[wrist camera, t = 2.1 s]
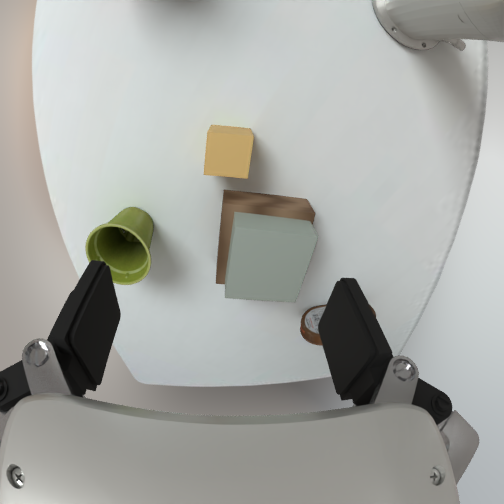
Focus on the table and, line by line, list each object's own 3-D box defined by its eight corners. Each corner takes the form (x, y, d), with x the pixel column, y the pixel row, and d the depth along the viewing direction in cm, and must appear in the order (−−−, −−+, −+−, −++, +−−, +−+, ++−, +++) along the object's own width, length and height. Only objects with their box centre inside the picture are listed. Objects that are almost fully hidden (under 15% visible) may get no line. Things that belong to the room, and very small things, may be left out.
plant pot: (98, 208, 37) (73, 238, 30) (148, 187, 36) (129, 214, 29) (124, 255, 42) (108, 290, 35) (173, 240, 41) (163, 276, 34)
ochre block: (250, 128, 32) (253, 136, 28) (245, 164, 35) (247, 178, 30) (211, 124, 32) (207, 132, 27) (207, 160, 35) (203, 174, 30)
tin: (296, 317, 53) (304, 351, 46) (296, 306, 51) (305, 341, 44) (365, 304, 53) (380, 335, 46) (368, 294, 51) (383, 324, 44)
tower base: (306, 198, 39) (315, 213, 35) (288, 268, 46) (293, 288, 42) (223, 188, 37) (223, 203, 33) (216, 263, 45) (215, 283, 41)
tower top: (309, 220, 36) (318, 236, 32) (290, 284, 42) (295, 302, 38) (234, 211, 34) (235, 227, 31) (225, 279, 40) (224, 297, 37)
